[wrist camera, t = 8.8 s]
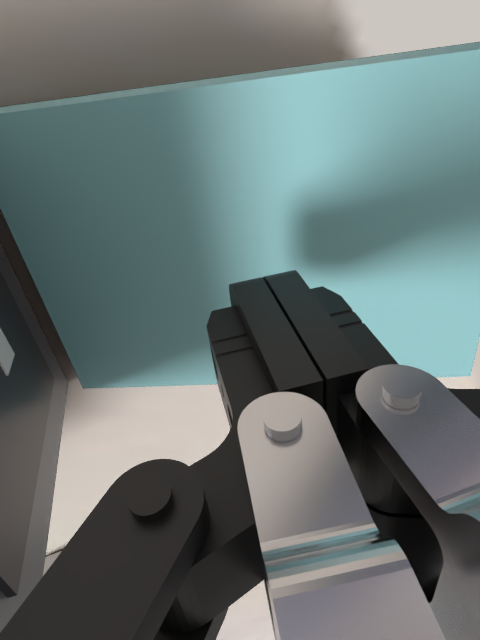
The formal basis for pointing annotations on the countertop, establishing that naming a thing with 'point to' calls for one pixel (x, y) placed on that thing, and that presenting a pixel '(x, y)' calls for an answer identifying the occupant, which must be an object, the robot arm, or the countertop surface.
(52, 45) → the countertop surface
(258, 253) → the side door
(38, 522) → the camera box
